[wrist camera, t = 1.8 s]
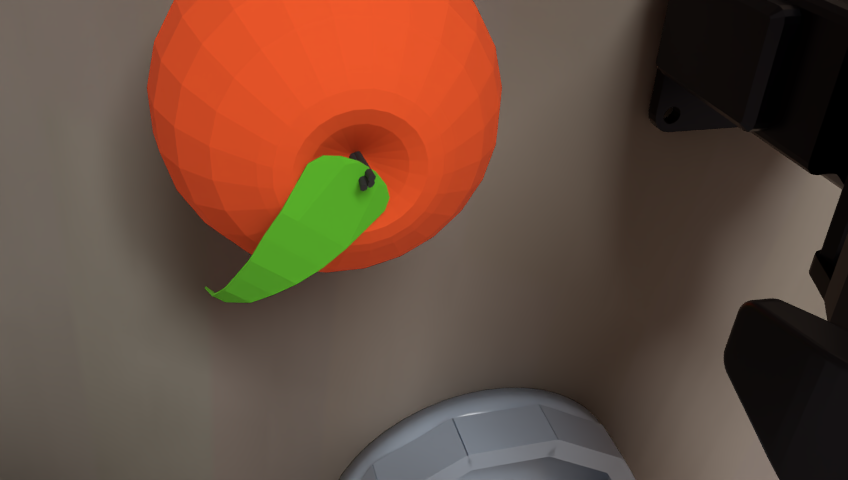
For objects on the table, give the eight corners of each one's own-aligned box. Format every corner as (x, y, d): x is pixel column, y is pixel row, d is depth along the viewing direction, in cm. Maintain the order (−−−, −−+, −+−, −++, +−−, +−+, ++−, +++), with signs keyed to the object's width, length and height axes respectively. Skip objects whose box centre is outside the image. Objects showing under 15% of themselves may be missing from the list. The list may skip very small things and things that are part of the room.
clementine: (310, 247, 22) (363, 434, 16) (65, 116, 19) (21, 296, 13) (501, 11, 20) (639, 129, 14) (265, -190, 16) (323, -140, 11)
